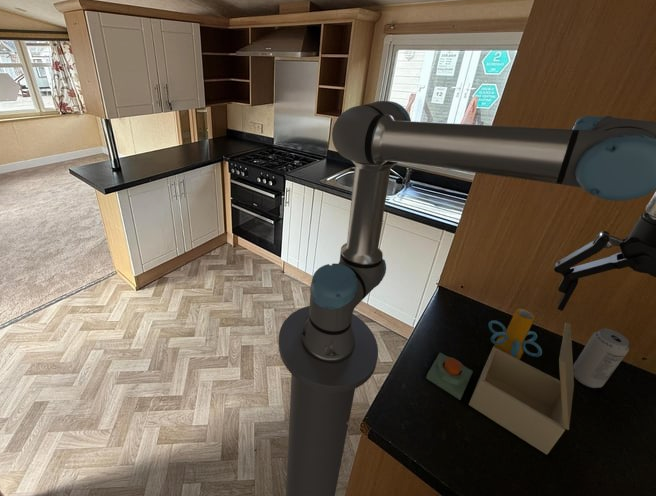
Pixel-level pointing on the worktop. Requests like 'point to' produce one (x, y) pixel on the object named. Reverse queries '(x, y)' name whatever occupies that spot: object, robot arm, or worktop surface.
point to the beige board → (566, 375)
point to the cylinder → (516, 335)
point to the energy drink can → (600, 358)
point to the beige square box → (520, 400)
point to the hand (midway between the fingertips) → (610, 326)
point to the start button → (452, 366)
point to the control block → (449, 377)
